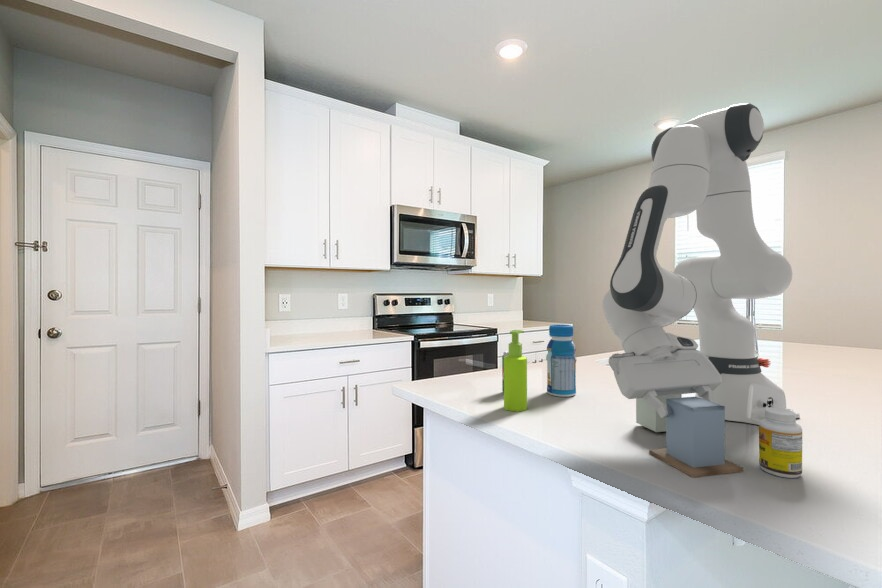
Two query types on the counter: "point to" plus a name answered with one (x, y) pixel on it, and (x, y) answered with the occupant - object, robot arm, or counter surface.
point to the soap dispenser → (515, 376)
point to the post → (697, 471)
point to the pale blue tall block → (696, 431)
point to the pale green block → (651, 414)
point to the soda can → (503, 369)
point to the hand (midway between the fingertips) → (689, 413)
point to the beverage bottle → (561, 362)
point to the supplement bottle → (780, 443)
